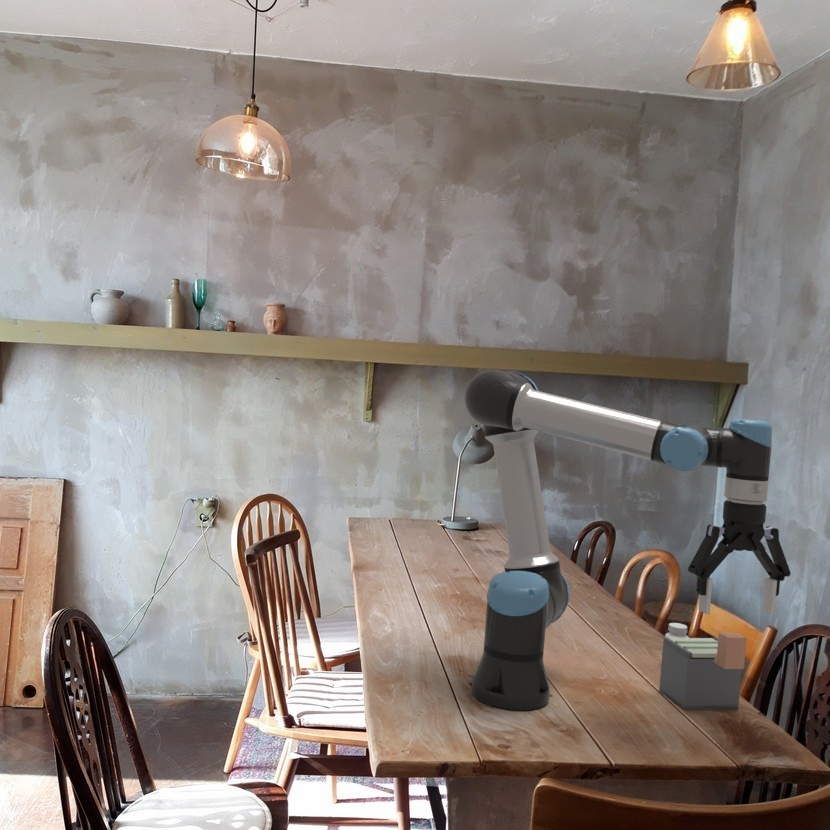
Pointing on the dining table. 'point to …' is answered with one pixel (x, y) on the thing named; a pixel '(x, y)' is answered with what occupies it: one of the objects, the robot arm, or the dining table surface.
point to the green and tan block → (717, 649)
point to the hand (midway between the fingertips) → (736, 612)
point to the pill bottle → (677, 631)
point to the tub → (697, 680)
